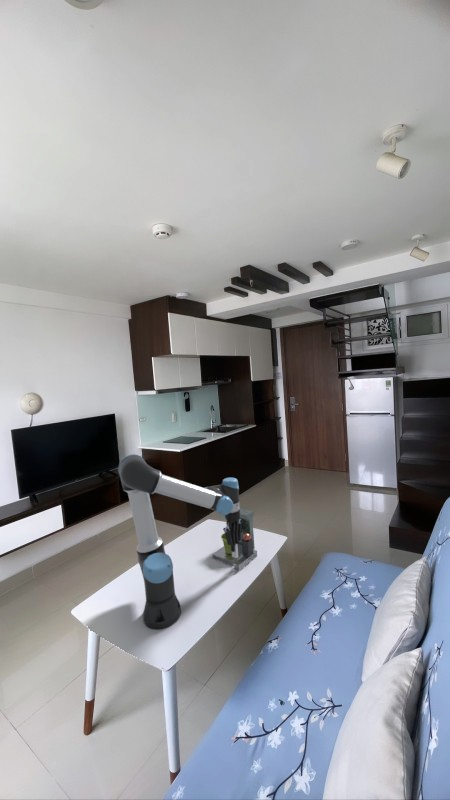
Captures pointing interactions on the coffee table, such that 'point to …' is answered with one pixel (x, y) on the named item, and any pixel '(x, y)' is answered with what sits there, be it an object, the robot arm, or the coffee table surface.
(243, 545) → the lever
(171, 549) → the coffee table surface
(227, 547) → the plant pot
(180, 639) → the coffee table surface
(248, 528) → the frame
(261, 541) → the coffee table surface
